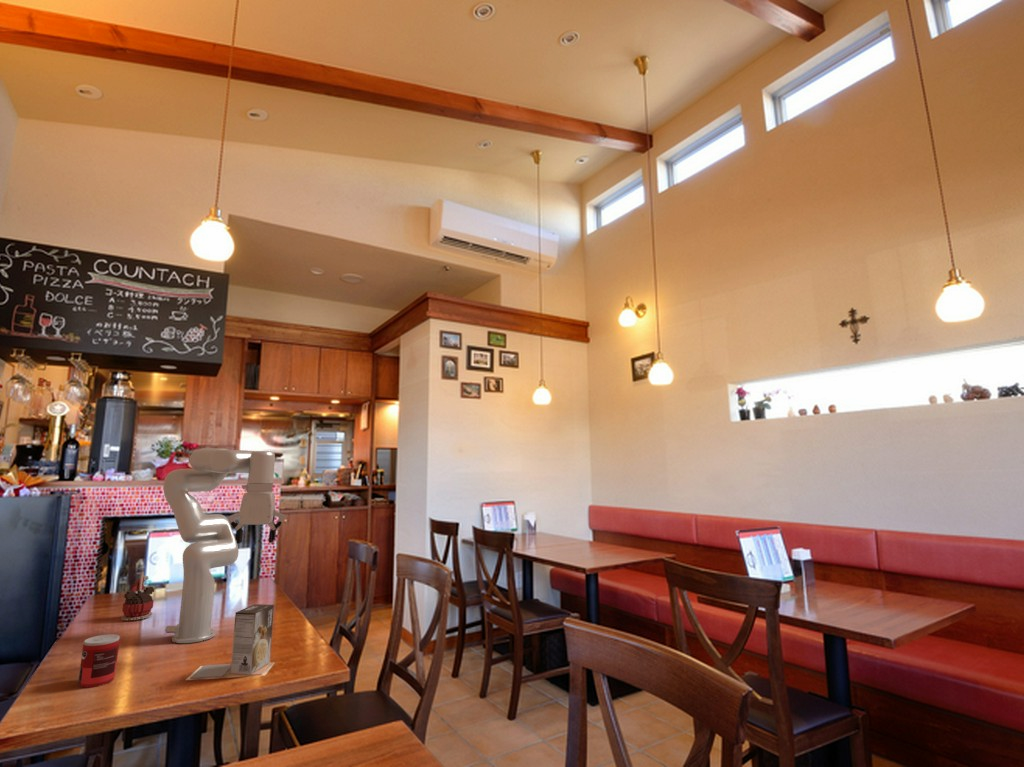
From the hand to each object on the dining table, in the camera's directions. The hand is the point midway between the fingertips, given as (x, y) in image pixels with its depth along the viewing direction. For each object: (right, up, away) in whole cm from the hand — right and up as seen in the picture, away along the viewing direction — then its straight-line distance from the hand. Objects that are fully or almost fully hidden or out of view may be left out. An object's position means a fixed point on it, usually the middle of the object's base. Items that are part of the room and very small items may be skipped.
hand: (255, 542), depth 168 cm
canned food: (-29, -29, -28) cm, 50 cm away
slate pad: (0, -29, -24) cm, 37 cm away
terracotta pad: (+10, -29, -22) cm, 38 cm away
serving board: (+5, -30, -23) cm, 38 cm away
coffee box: (+10, -29, -22) cm, 37 cm away
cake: (-60, -39, +30) cm, 78 cm away
